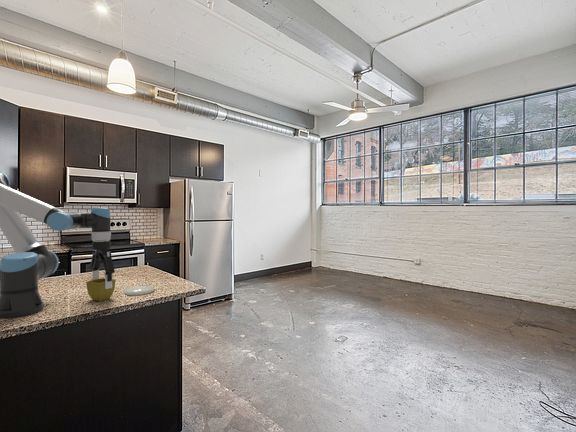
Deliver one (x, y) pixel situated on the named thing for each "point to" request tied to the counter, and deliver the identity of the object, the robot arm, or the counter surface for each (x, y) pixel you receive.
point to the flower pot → (99, 289)
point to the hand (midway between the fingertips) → (102, 286)
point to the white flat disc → (139, 290)
